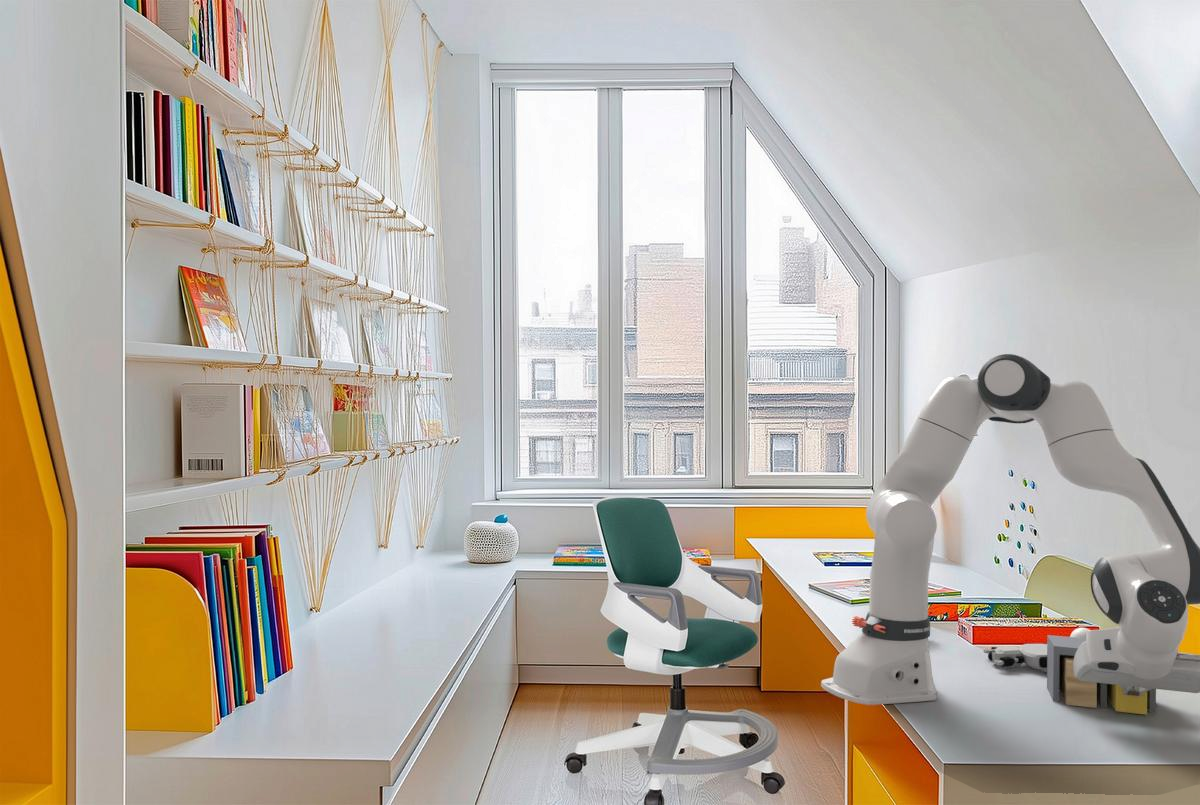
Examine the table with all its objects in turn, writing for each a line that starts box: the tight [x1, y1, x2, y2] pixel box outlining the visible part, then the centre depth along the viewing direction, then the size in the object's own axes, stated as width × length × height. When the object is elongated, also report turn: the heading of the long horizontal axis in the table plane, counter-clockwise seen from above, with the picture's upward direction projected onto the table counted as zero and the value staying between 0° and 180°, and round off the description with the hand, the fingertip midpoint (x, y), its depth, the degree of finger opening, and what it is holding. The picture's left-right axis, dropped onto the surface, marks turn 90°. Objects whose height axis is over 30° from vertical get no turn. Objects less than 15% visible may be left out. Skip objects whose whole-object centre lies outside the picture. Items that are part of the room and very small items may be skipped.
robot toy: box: [983, 643, 1047, 673], centre depth 195 cm, size 12×4×15 cm
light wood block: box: [1059, 655, 1098, 709], centre depth 172 cm, size 8×5×8 cm, turn 160°
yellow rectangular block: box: [1107, 684, 1148, 715], centre depth 169 cm, size 8×5×8 cm, turn 160°
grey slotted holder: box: [1046, 634, 1157, 714], centre depth 173 cm, size 9×17×10 cm, turn 70°
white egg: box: [1069, 627, 1091, 638], centre depth 208 cm, size 8×6×6 cm
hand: (1131, 692), depth 165 cm, fingers closed, pressing on yellow rectangular block
